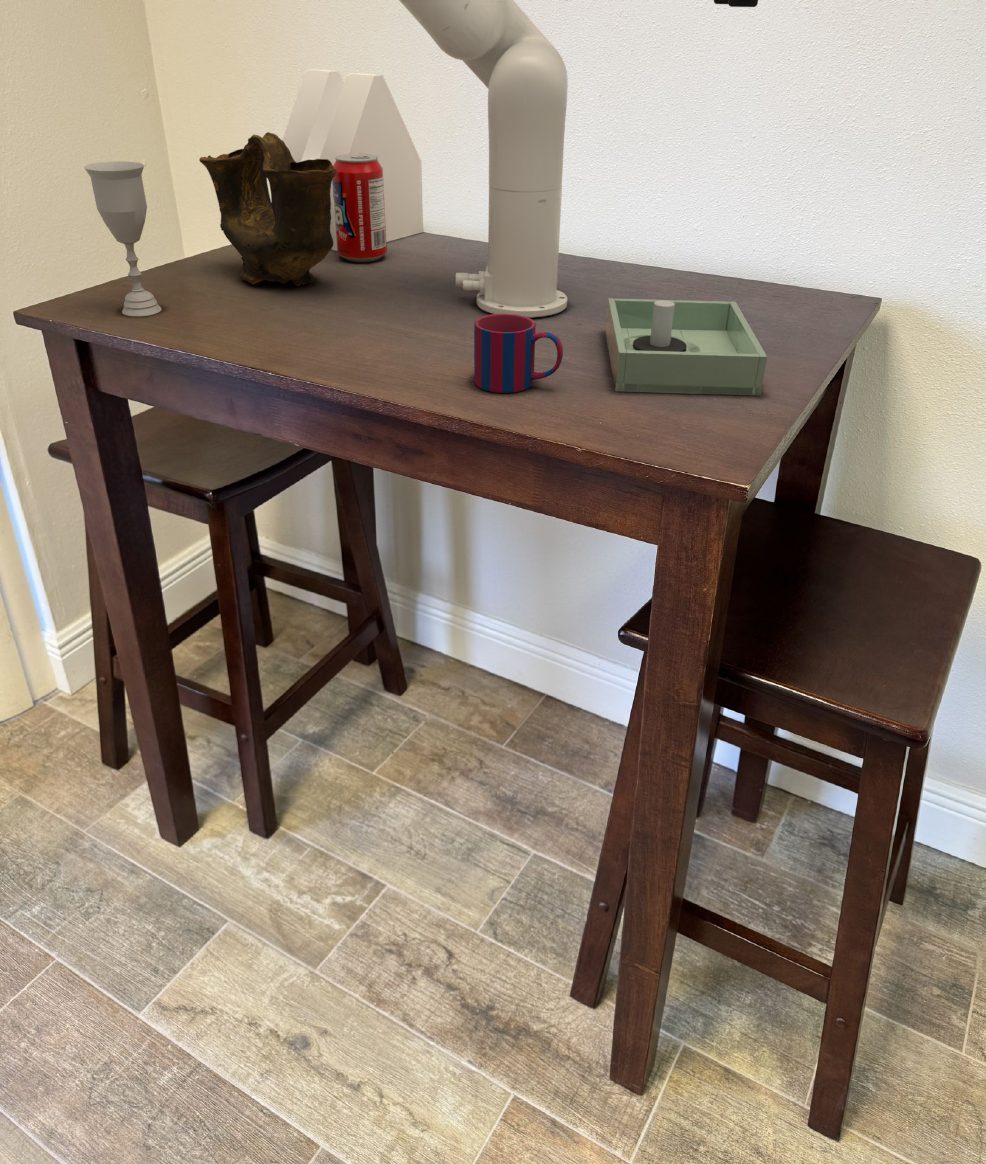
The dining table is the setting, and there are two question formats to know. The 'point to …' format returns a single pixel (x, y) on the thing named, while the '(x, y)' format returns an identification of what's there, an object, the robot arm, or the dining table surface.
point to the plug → (660, 331)
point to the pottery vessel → (274, 209)
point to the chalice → (124, 220)
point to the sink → (685, 366)
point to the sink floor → (695, 343)
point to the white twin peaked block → (359, 139)
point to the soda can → (359, 207)
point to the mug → (508, 353)
